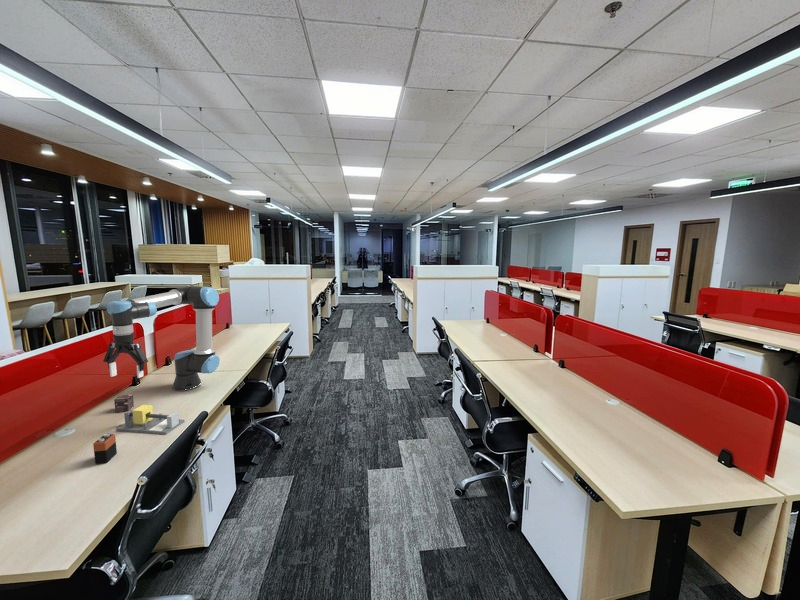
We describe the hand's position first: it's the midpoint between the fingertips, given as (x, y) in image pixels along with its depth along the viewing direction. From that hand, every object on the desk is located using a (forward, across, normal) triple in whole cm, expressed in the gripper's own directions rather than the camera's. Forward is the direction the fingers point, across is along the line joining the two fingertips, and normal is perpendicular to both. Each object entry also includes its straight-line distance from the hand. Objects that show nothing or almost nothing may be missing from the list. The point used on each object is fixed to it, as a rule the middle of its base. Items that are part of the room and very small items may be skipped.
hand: (127, 376), depth 159 cm
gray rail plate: (+25, +10, 0) cm, 27 cm away
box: (+25, -17, +15) cm, 34 cm away
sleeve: (+23, +6, 0) cm, 24 cm away
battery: (+25, +13, -26) cm, 39 cm away
